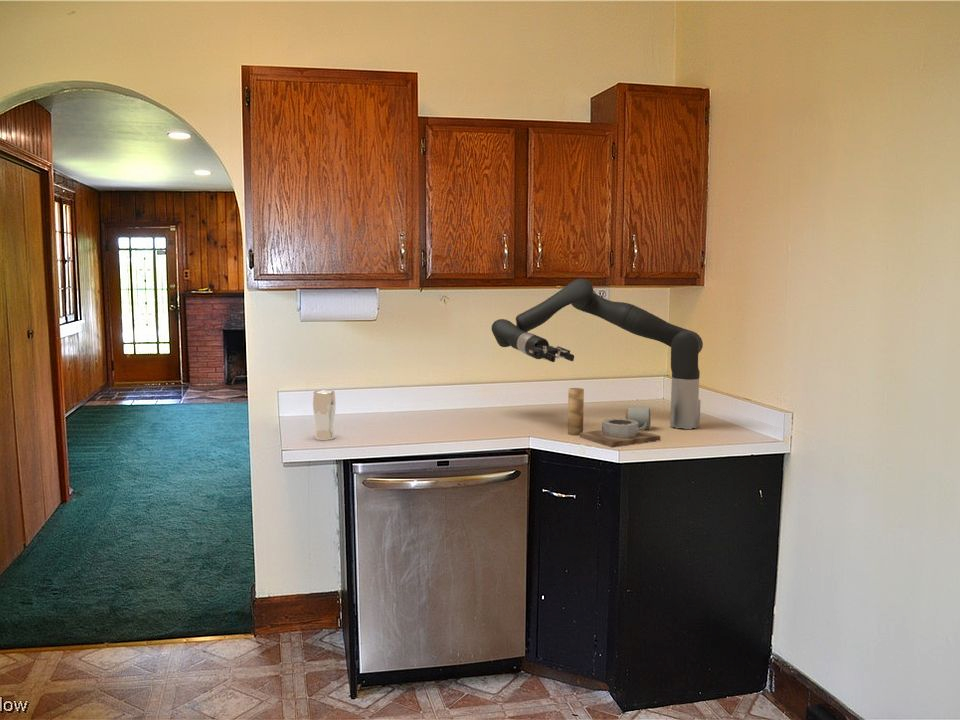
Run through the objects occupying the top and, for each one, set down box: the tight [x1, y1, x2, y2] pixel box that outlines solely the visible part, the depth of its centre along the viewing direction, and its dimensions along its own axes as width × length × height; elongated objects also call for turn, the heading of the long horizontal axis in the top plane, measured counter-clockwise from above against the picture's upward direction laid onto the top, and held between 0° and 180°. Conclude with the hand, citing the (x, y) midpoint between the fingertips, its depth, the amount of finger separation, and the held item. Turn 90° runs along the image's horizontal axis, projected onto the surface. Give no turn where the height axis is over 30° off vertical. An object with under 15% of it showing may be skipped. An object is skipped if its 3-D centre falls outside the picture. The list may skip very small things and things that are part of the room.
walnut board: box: [579, 429, 661, 448], centre depth 255 cm, size 20×16×2 cm
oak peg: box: [567, 387, 585, 436], centre depth 261 cm, size 5×5×15 cm
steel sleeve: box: [601, 418, 639, 438], centre depth 254 cm, size 11×11×4 cm
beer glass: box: [312, 389, 336, 441], centre depth 252 cm, size 7×7×15 cm
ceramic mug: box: [625, 406, 652, 431], centre depth 270 cm, size 11×8×8 cm
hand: (564, 358), depth 262 cm, fingers open, 8 cm apart
